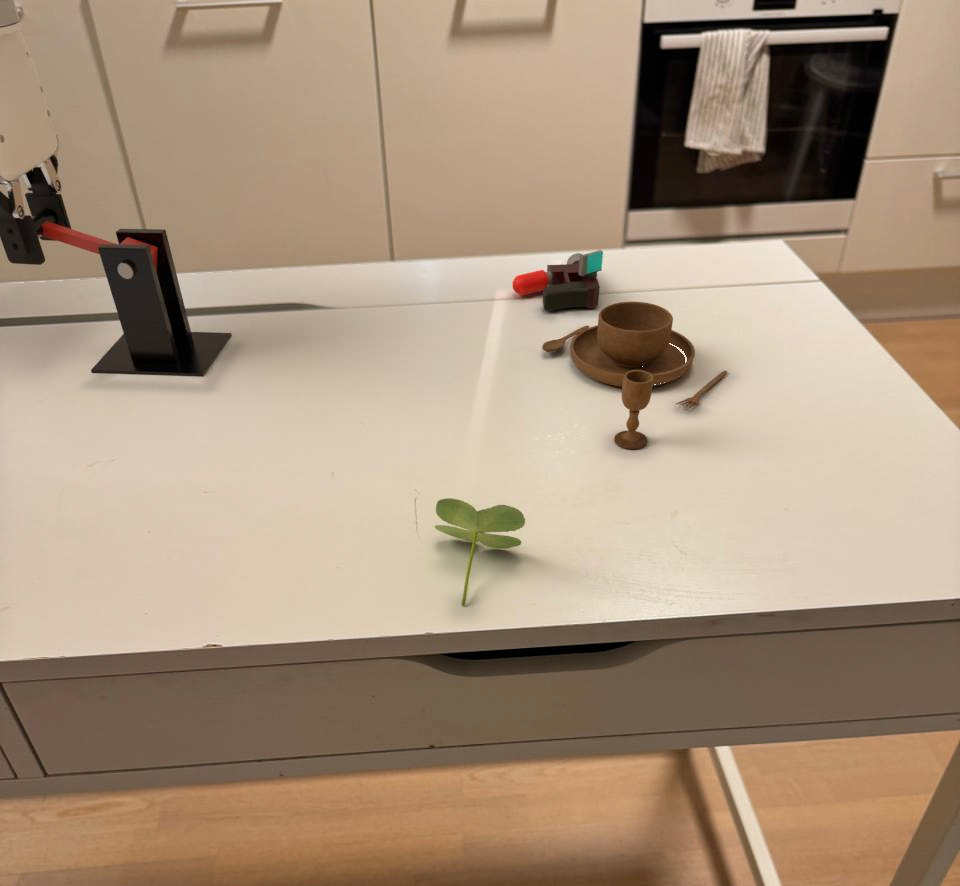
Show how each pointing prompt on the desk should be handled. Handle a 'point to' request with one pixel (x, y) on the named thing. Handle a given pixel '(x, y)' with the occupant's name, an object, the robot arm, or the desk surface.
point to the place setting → (632, 357)
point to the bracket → (152, 313)
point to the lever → (76, 234)
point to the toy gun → (565, 282)
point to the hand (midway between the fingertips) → (42, 248)
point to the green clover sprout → (479, 526)
